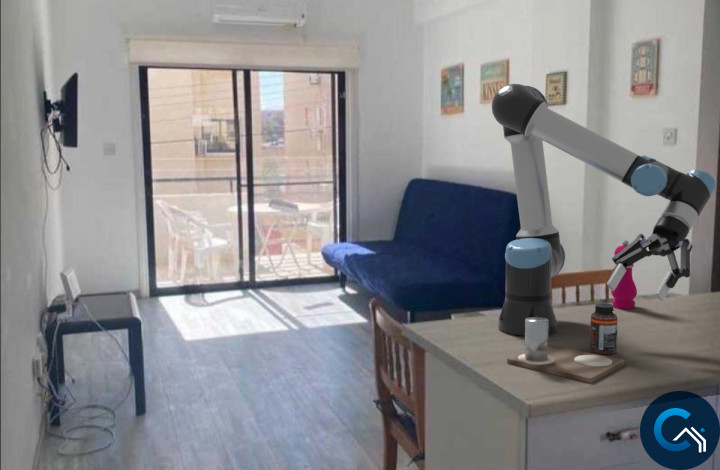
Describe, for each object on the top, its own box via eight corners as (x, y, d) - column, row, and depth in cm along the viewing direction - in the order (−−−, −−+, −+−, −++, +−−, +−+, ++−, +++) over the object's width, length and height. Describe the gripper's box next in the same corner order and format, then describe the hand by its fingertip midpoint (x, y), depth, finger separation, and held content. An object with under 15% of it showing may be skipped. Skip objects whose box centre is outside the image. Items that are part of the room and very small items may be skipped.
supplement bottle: (586, 348, 167) (587, 301, 166) (611, 347, 167) (613, 301, 166) (594, 355, 162) (595, 307, 160) (620, 355, 161) (621, 307, 160)
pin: (520, 359, 157) (520, 320, 155) (532, 354, 160) (532, 316, 159) (540, 364, 153) (540, 324, 152) (552, 358, 157) (552, 319, 155)
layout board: (507, 362, 157) (507, 357, 157) (544, 347, 169) (544, 342, 168) (590, 383, 143) (590, 377, 143) (624, 364, 155) (625, 359, 154)
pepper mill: (638, 309, 204) (640, 241, 201) (612, 309, 205) (614, 241, 202) (634, 304, 211) (636, 238, 208) (609, 303, 212) (610, 238, 209)
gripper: (729, 239, 164) (688, 311, 158) (638, 229, 185) (598, 292, 179) (717, 218, 160) (674, 291, 155) (625, 210, 181) (584, 274, 176)
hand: (633, 292), depth 167 cm, fingers open, 13 cm apart
